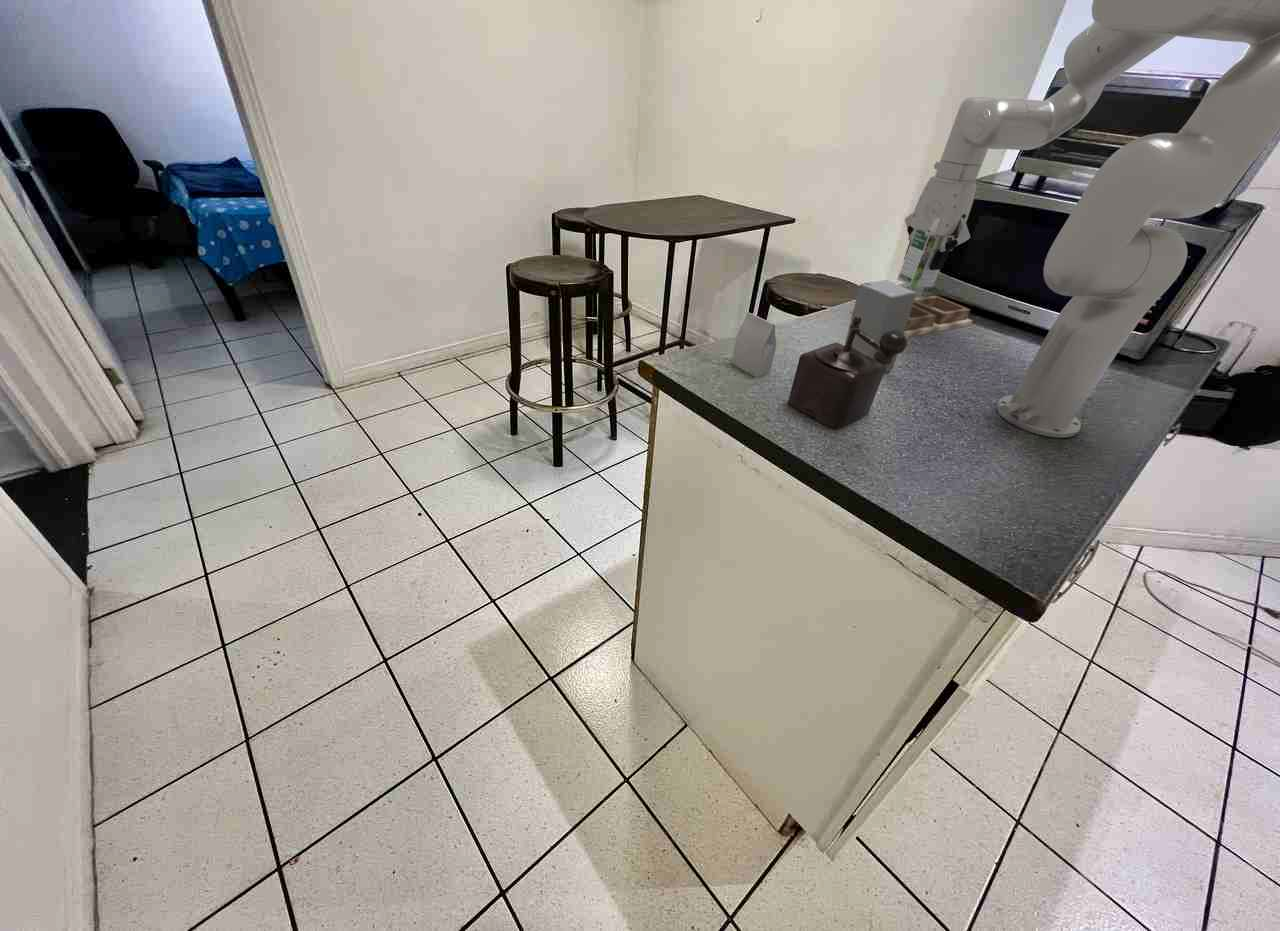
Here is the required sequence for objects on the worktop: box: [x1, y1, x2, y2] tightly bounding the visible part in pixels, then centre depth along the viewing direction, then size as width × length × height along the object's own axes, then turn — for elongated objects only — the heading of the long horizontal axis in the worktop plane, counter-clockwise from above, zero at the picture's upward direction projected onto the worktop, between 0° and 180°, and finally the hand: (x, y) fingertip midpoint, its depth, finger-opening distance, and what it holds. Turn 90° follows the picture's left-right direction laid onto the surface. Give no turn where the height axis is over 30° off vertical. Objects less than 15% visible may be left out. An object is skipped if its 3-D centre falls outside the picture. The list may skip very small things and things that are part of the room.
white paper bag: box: [731, 311, 777, 378], centre depth 98 cm, size 4×7×10 cm, turn 35°
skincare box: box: [844, 279, 918, 373], centre depth 101 cm, size 8×7×16 cm
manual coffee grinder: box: [786, 316, 909, 430], centre depth 84 cm, size 16×11×18 cm
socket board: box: [850, 295, 974, 338], centre depth 127 cm, size 24×16×4 cm, turn 117°
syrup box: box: [897, 217, 955, 289], centre depth 114 cm, size 6×6×14 cm
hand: (922, 263), depth 115 cm, fingers closed on syrup box, 6 cm apart
